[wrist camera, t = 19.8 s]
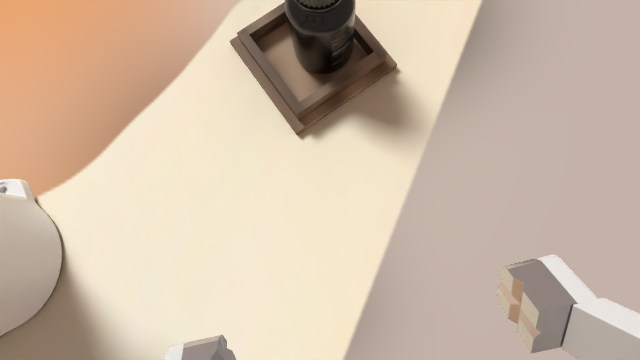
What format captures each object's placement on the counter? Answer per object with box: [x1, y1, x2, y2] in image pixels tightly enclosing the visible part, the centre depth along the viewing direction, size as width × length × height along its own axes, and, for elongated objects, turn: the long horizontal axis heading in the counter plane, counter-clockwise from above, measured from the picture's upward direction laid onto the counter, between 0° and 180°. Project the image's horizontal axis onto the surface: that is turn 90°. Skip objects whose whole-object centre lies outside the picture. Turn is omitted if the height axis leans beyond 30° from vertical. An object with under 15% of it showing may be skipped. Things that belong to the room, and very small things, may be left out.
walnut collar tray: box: [230, 2, 397, 135], centre depth 44 cm, size 14×14×3 cm
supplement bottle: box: [285, 0, 355, 74], centre depth 39 cm, size 7×7×12 cm
